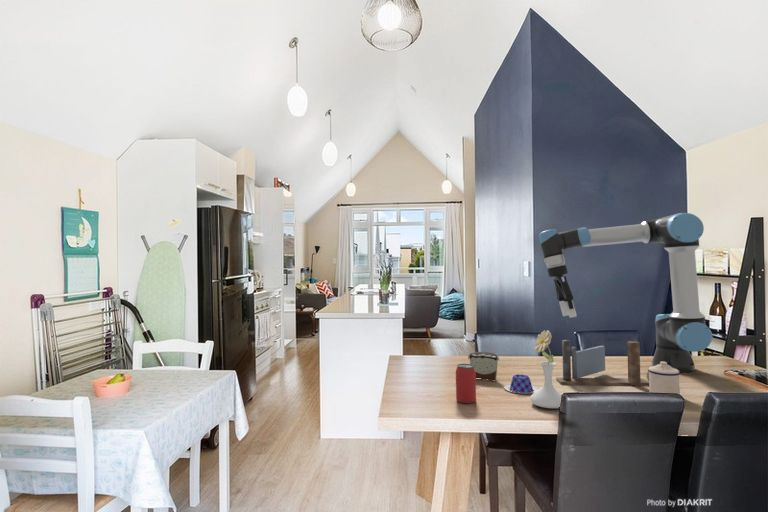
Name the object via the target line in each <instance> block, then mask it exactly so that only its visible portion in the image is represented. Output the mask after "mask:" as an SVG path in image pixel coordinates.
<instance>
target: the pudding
mask: <svg viewBox="0 0 768 512" xmlns="http://www.w3.org/2000/svg"><path fill="white" fill-rule="evenodd" d="M508 387H510V388H509V389H508ZM503 388H504V389H505V390H506V391H509V392H511V393H513V394H514V393H515V394H517V393H519V392H520V393H519V394H524V395H525V394H534V393H535V392H536V391H538V390H539V389H540V388H539V387H537V386H534V385H533V384H532V382H531V378H530V377H529V375H526V374H520V373H518V374H514V375H512V378H511V382H510V383H509V384H507V385H504V387H503ZM510 390H511V391H510ZM512 390H513V391H514V392H512ZM533 390H534V391H533ZM516 392H517V393H516Z"/></svg>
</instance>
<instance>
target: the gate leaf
mask: <svg viewBox="0 0 768 512" xmlns="http://www.w3.org/2000/svg"><path fill="white" fill-rule="evenodd" d="M605 371H606V346H605V345H597V346H594V347H593V346H592V347H590V348H586V349H580V350H577V347H576V346H572V347H571V378H572V379H578V378H585V377H588V376H591V375H595V374H598V373H601V372H605Z"/></svg>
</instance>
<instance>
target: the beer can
mask: <svg viewBox="0 0 768 512" xmlns="http://www.w3.org/2000/svg"><path fill="white" fill-rule="evenodd" d="M476 382H477V379H476V373H475V369H474V366H473V365H471V364H470V363H458V364H457V365H456V370H455V397H456V399H455V400H456V401H457V402H458V403H459V404H465V403H466V404H468V405H469V403H470V404H473V403H475V402H476V401H477V386H476V385H477V383H476ZM466 404H465V405H466Z"/></svg>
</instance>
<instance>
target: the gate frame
mask: <svg viewBox="0 0 768 512" xmlns="http://www.w3.org/2000/svg"><path fill="white" fill-rule="evenodd" d="M561 344H562V345H561V347H562V377H556V379H555V380H556V381H557V382H558V383H559V385H561V384H566V385H567V386H569V385H570V386H571V385H572V386H574V385H576V386H579V385H580V386H581V385H582V386H631V385H635V386H634V387H641V385H649V382H648V380H646V379H645V378H641V356H640V355H641V352H640V351H641V350H640V349H641V348H640V345H641V344H640V342H639V341H633V340H632V341H631V340H630V341H629V340H627V342H626V345H627V347H626V348H627V349H626V350H627V352H626V353H627V377H626V378H625V377H624V378H623V377H621V378H619V377H616V378H615V377H581V378H578V379H572V356H571V340H568V339H562V340H561Z"/></svg>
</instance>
